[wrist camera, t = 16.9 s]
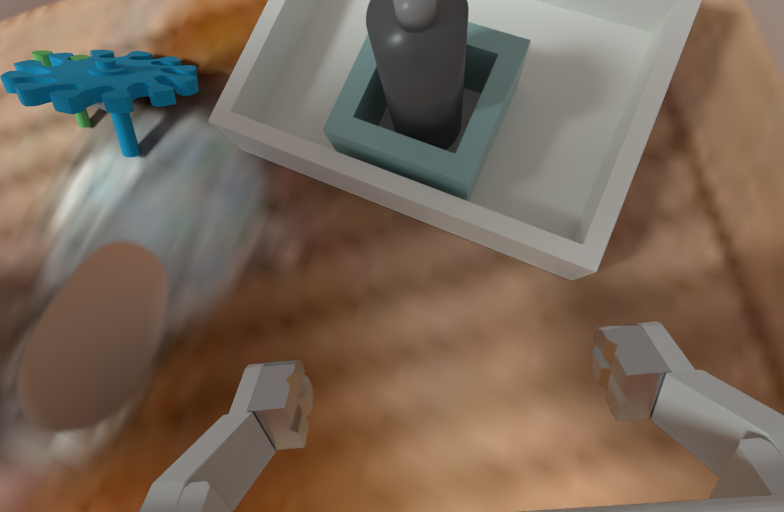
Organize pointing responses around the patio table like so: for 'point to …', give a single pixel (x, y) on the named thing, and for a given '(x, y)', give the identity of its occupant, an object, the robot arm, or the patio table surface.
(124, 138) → the gear
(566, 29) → the walled box
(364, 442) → the patio table surface
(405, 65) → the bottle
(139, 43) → the patio table surface
